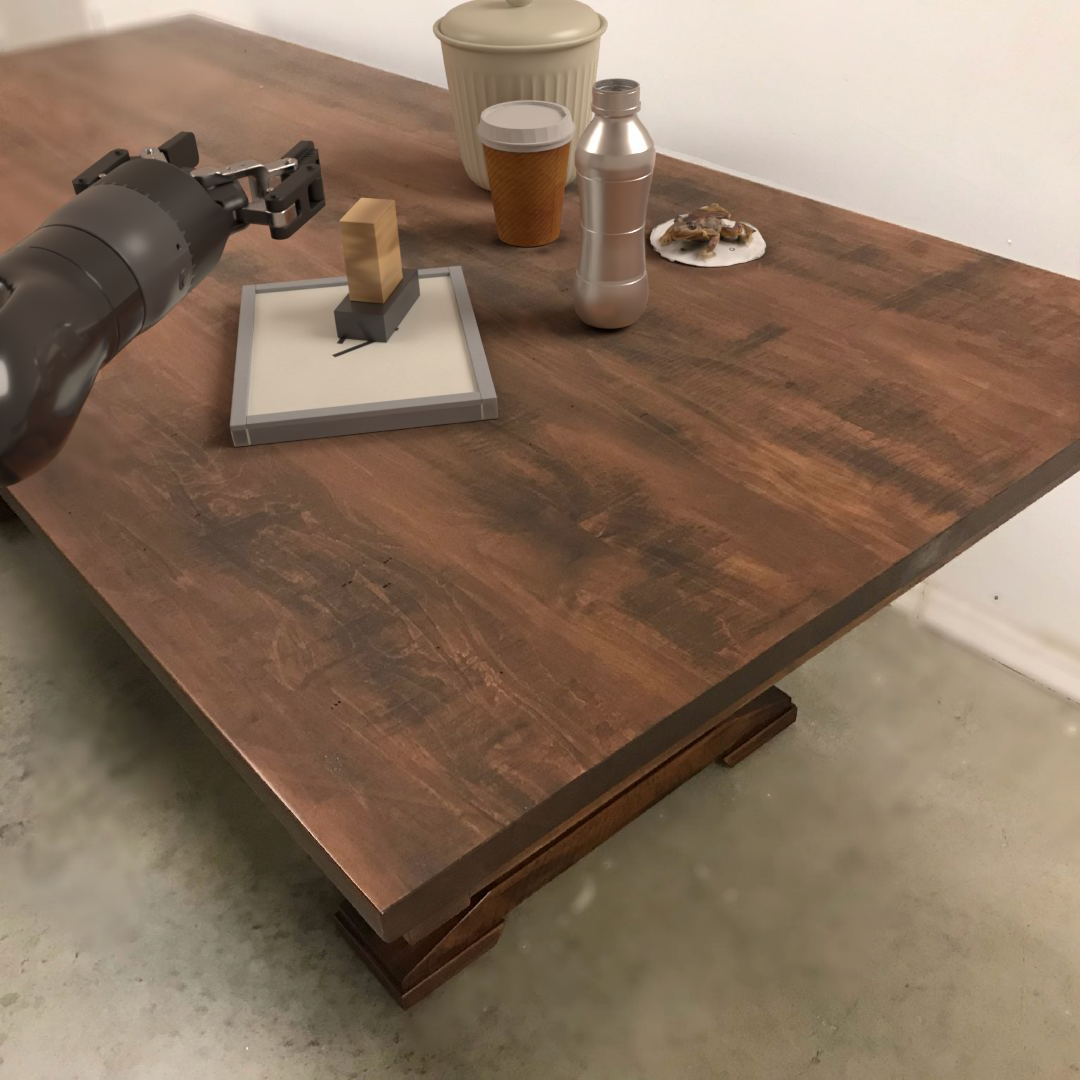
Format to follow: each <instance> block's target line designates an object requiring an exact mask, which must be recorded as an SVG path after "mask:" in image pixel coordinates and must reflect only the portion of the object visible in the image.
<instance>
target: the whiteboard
mask: <svg viewBox="0 0 1080 1080" xmlns="http://www.w3.org/2000/svg"><path fill="white" fill-rule="evenodd" d="M417 270H418V277H419V287H420V296H419V298H418V299H417V300H416V302H415V303H414V305H413V306H412V307H411V309H410V310H409V312H408V313H407V315H406V316H405V317H404V319H403V320H402V322H401V323H400V324H399V326H398V327H397V329H396V330H395V331H394V333H393V334H392V336H391V337H390V339H389V340H388V341H387V342H376V341H365V340H355V339H345V338H338V337H337V330H336V324H335V317H334V310H335V309H336V308H337V306H338V305H339V304H340V303H341V302H342V300H343V299H344V298H345V297H346V295H347V294H348V293H349V288H348V281H347V275H343V276H335V277H334V276H332V277H323V278H312V279H311V278H310V279H299V280H290V281H289V280H288V281H279V282H278V281H277V282H269V283H267V282H266V283H257V284H246V285H241V297H240V308H239V318H238V329H237V338H236V339H237V342H236V352H235V364H234V372H233V373H234V374H233V385H232V395H231V406H230V418H229V430H230V435H231V439H232V442H233V446H234V447H246V446H257V445H266V444H274V443H275V444H276V443H283V442H294V441H301V440H303V441H304V440H310V439H320V438H329V437H339V436H347V435H356V434H365V433H366V434H368V433H375V432H386V431H395V430H402V429H412V428H423V427H431V426H441V425H449V424H459V423H467V422H477V421H487V420H495V419H496V420H497V419H499V412H498V411H499V410H498V409H499V408H498V396H497V393H496V389H495V385H494V382H493V381H494V380H493V379H492V375H491V371H490V367H489V363H488V360H487V356H486V353H485V350H484V344H483V341H482V337H481V334H480V330H479V327H478V323H477V319H476V316H475V312H474V308H473V305H472V300H471V298H470V294H469V289H468V286H467V283H466V280H465V276H464V272H463V268H462V265H451V266H443V267H433V268H421V269H417Z"/></svg>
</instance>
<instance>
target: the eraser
mask: <svg viewBox="0 0 1080 1080" xmlns="http://www.w3.org/2000/svg"><path fill="white" fill-rule="evenodd" d="M396 208H397V207H396V200H395V199H385V198H371V197H360V198H359V199H358V200H357V201H356V202H355V203H354V204H353V206H352V207H350V209H348V211H347V212H346V213H345V214H344V215H343V216H342V217H341V218H340V219H339V221H338V224H339V230H340V236H341V243H342V251H343V258H344V259H343V260H344V265H345V272H346V276H347V281H348V288H349V293H348V294H347V295H346V297H345V298H344V299H343V300H342V302H341V303H340V304H339V305H338V306H337V308H336V309H335V310H334V317H335V324H336V330H337V337H338V338H345V339H355V340H365V341H376V342H387V341H388V340H389V339H390V337H391V336H392V334H393V333H394V331H395V330H396V329H397V327H398V326H399V324H400V323H401V322H402V320H403V319H404V317H405V316H406V315H407V313H408V312H409V310H410V309H411V307H412V306H413V305H414V303H415V302H416V300H417V299H418V298H419V296H420V287H419V277H418V270H419V269H415V268H405V267H403V266H402V256H401V247H400V246H401V245H400V237H399V230H398V229H399V227H398V219H397V210H396Z"/></svg>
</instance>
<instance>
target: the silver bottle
mask: <svg viewBox="0 0 1080 1080" xmlns="http://www.w3.org/2000/svg"><path fill="white" fill-rule="evenodd" d="M641 110H642V102H641V86H640V83H639V82H638V81H636V80H634V79H629V78H615V77H614V78H606V79H605V78H604V79H600V80H598V81H597V80H596V82H595V83H594V84H593V87H592V102H591V111H592V113H593V114H594V116H593V117H592V119H591V122H590V124H589V125H588V126H587V128H586V129H585V130H584V132H583V134H582V136H581V137H580V139H579V141H578V144H577V147H576V151H575V155H574V156H575V167H576V176H577V178H576V183H577V190H578V191H577V192H578V198H579V218H580V223H579V225H580V237H579V248H578V257H577V258H578V259H577V268H576V270H575V275H574V278H573V279H574V280H573V287H572V291H571V294H572V295H571V296H572V301H573V307H574V311H575V313H576V314H577V316H578V317H579V318H580V320H581V321H582V322H583V323H584V324H586V325H588V326H591V327H594V328H597V329H620V328H625V327H629V326H631V325H633V324H635V323H637V322H638V321H639V320H640V318H641V317H642V316H643V314H644V313H645V311H646V309H647V304H648V302H649V301H648V300H649V296H650V289H649V288H650V287H649V277H648V271H647V268H646V242H645V241H646V239H645V238H646V237H645V230H646V218H647V211H648V201H649V196H650V191H651V185H652V180H653V175H654V169H655V165H656V159H657V158H656V156H657V151H656V146H655V142H654V140H653V138H652V136H651V135H650V133H649V131H648V129H647V127H646V126H645V125H644V123H643V122H642V120H641V119H640V118H639V116H638V113H639V112H640V111H641Z"/></svg>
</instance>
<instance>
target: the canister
mask: <svg viewBox="0 0 1080 1080" xmlns="http://www.w3.org/2000/svg"><path fill="white" fill-rule="evenodd" d="M608 26H609V23H608V20H607V18H606V17H605V16H604V15H603V14H601V13H599V12H597V11H595V10H594V9H593V7H591V6H590V5H588V4H586V3H584V2H582V1H579V0H468V1H466V2H463V3H460V4H458V5H456V6H455V7H452V8H451V9H450V10H448V11H447V12H446V13H445V14H444V16H441V17H440V18H438V19H437V20H435V22H434V24H433V25H432V32H433V34H434V36H435V38H437V39H438V40H439V41H440V48H441V52H442V53H441V54H442V58H443V65H444V72H445V78H446V83H447V89H448V95H449V101H450V107H451V113H452V118H453V123H454V128H455V133H456V139H457V143H458V144H457V145H458V149H459V153H460V158H461V162H462V165H463V168H464V170H465V172H466V174H467V176H468V178H470V180H471V181H472V182H473V183H474V184H475V185H476V186H477V187H480V188H481V189H484V190H486V191H487V192H491V190H490V184H489V178H488V172H487V168H486V161H485V155H484V150H483V144H482V142H481V140H480V137H479V135H478V134H477V130H476V129H477V126H478V125H479V123H480V117H481V114H482V112H483V111H484V110H485V109H487V108H488V107H491V106H493V105H496V104H500V103H505V102H511V101H523V100H536V101H546V102H552V103H556V104H559V105H562V106H564V107H566V108H567V109H568V110H569V111H570V113H571V118H572V122H574V124H575V126H576V129H575V132H574V133H573V138H572V139H571V141H570V149H569V157H568V166H567V174H566V183H565V188H566V187H568V186H569V185H571V184H573V183H574V182H575V181H577V176H576V167H575V156H574V155H575V151H576V147H577V144H578V141H579V139H580V137H581V136H582V134H583V132H584V130H585V129H586V128H587V126H588V125H589V124H590V122H591V121H592V119H593V112H592V111H591V102H592V87H593V84H594V83H595V82H597V77H598V76H597V75H598V66H599V57H600V49H601V37H602V36H603V35H604V34H605V33H606V31H607V29H608Z"/></svg>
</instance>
